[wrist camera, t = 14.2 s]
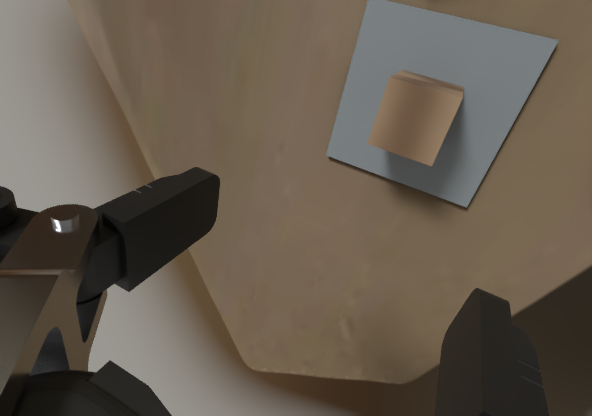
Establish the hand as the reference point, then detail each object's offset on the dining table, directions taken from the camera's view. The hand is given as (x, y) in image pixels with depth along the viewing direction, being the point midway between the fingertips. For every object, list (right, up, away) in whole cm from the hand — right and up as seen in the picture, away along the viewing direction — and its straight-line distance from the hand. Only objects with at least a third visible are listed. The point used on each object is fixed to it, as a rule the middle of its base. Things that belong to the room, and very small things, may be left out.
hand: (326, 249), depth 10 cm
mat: (+10, +10, +20) cm, 24 cm away
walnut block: (+10, +10, +19) cm, 24 cm away
